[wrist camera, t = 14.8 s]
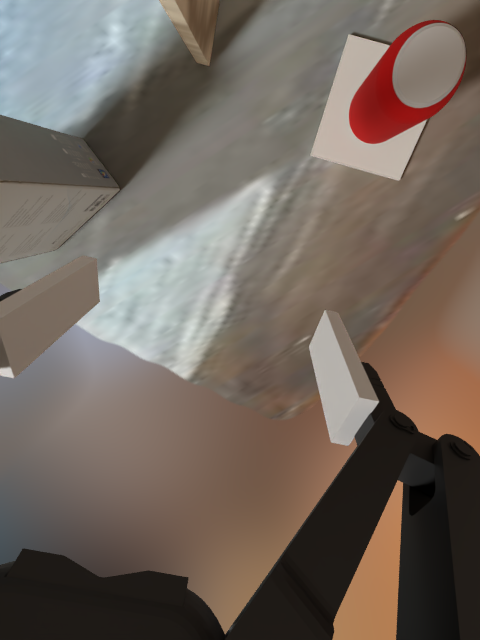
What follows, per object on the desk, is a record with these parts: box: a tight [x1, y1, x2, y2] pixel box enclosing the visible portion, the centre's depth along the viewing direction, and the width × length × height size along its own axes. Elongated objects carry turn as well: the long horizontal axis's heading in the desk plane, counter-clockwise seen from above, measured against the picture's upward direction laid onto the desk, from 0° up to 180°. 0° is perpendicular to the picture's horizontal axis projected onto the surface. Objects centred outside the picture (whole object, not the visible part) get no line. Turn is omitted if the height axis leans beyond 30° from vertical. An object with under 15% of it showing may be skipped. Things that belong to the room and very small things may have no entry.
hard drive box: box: [0, 115, 120, 263], centre depth 30 cm, size 16×8×20 cm, turn 125°
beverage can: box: [349, 20, 466, 144], centre depth 25 cm, size 6×6×12 cm
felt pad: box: [310, 34, 427, 181], centre depth 31 cm, size 11×11×1 cm
